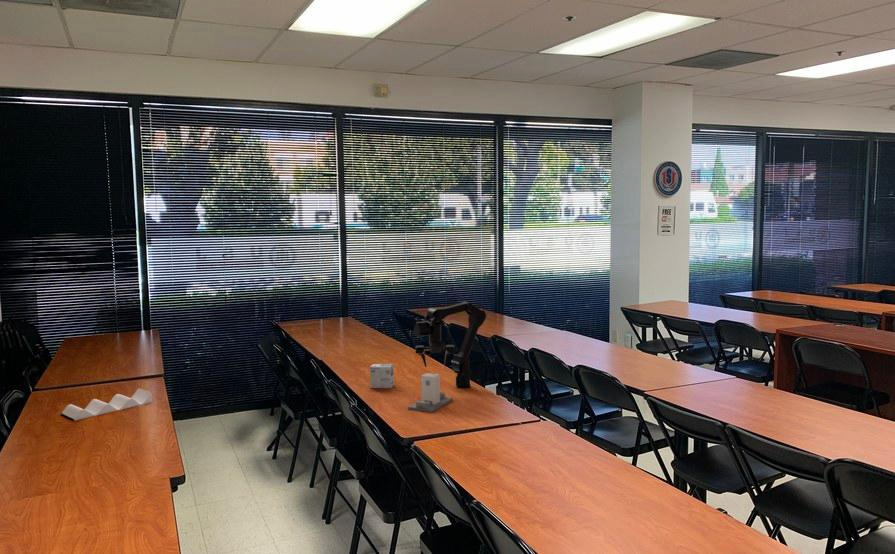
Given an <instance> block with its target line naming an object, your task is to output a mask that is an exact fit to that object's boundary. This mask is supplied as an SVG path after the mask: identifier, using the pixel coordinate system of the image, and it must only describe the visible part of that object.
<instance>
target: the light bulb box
mask: <svg viewBox="0 0 895 554" xmlns="http://www.w3.org/2000/svg"><path fill="white" fill-rule="evenodd" d="M369 370H370V373H369V377H370V389H392V387H393V386H394V384H395V381H394V378H395V377H394V364H393V363H380V364H379V363H373V364H372V365H371V366H369Z"/></svg>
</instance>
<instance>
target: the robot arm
mask: <svg viewBox="0 0 895 554" xmlns="http://www.w3.org/2000/svg"><path fill="white" fill-rule="evenodd" d="M462 312H465V313H466V314H467V315H468V319H467V320H468V328H467V329H466V333H465V336H464V338H463V341H462V344H461V347H460V349H459V352H458V353H457V354H455V353H456V347H455V345H454V344H446V342H445V341H442V326H444V325H446V323H445V322H444V321H443V320H444V319H445V318H447V317H449V316H451V315H456V314H459V313H462ZM486 318H487V313H486V311H485V310H483V309H480V308H478V307H477V306H475V305H474V304H472V303H471V302H470V301H462V302H459V303H456V304H451V305H449V306H444V307H430V308H428V310H427V312H426V315H425V316H424V318H423V320H422V321H416V322H415V325H414V328H413V333H414V336H415V337H416V338H418V337H419V338H420V337H427V336H428V346H424V345H420V344H419V345H415V354H417V355H418V356H420V357H421V359H422V361H423V364H424V367H425V368H427V361H426V355H425V354H426V353H425V352H430V353H431V354H436V353H437V354H440V353H441V352H445V353H444V354H445V355H444V362H443V363H444V367H446V366H447V364H448V359H449V357H450V356H451V355H453V357H452V360H451V361H450V362H451V364H450V365H451V367H452V368H451V369H452V370H453V372H454V373H455V374H456V376H455V386H456V387H457V388H459V389H462V388H463V389H464V388H471V376H472V375H473V374H474V373H473V372H474V370H473V369H472V368H471V367H470V366H469V365H470V353H471V350H472V348H473V345H474V342H475V339H476V336H477V334H478V330H479V328H481V326H482V325H483V324H484V322H485V320H486Z"/></svg>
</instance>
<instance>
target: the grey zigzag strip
mask: <svg viewBox="0 0 895 554" xmlns="http://www.w3.org/2000/svg"><path fill="white" fill-rule="evenodd" d="M151 403H153V394H152V392H151V391H148V390H145V389H142V388H137V389H136V391H135V392H134V393H133V395H131V397H129V396H126V395H123V394H120V393H116V394H115V395H114V396H113V397H112V399H110V401H109V402H108V403H107V402H105V401H102V400H100V399H96V398H93V399H91V401H90V402H89V403H88V405H87V406H86V407H85V408H84V409H83V408H81V407H80V406H77V405H74V404H71V403H70V404H68V405H67V406H66V407H65V408H64V409H63V411H62V412H61V413H60V416H61V417H62V418H65V419H67V420H69V421H71V422H74V421H78V420H83V419H86V418H91V417H95V416H100V415H103V414H108V413H112V412H116V411H121V410H126V409H129V408H133V407H138V406H143V405H146V404H151Z"/></svg>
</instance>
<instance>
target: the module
mask: <svg viewBox="0 0 895 554" xmlns="http://www.w3.org/2000/svg"><path fill="white" fill-rule="evenodd" d="M440 375H441V374H439V373H432V372H431V373H429V372H426V373H424V374H422V375H420V377H421V378H420V379H421V380H420V381H421V400H422V402H426V401H432V404H433V405H435V404H437V403H439V402H440V392H441V387H440V385H441V383H440V379H441V378H440V377H441V376H440Z"/></svg>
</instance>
